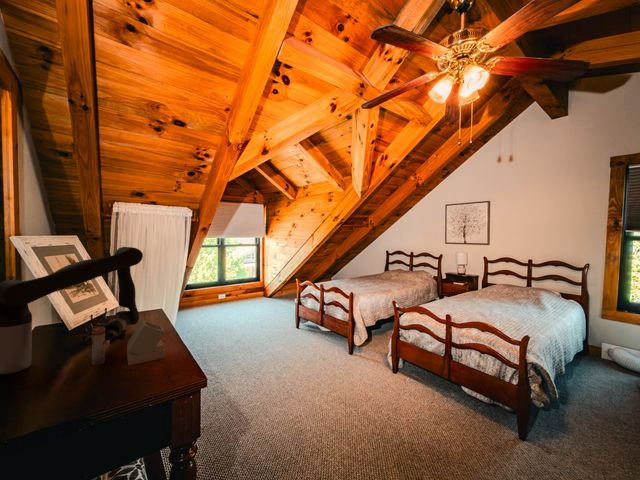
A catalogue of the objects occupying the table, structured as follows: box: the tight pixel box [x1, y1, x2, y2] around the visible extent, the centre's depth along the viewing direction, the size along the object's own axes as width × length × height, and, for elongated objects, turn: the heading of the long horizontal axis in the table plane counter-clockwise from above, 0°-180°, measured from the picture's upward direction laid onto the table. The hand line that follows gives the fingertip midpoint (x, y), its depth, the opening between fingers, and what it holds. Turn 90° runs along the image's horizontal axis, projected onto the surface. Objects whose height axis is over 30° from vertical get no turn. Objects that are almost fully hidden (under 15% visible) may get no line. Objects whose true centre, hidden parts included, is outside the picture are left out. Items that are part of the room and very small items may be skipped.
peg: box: [91, 326, 106, 366], centre depth 111 cm, size 4×4×14 cm
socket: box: [126, 319, 167, 366], centre depth 119 cm, size 13×11×15 cm
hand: (98, 342), depth 111 cm, fingers open, 8 cm apart
